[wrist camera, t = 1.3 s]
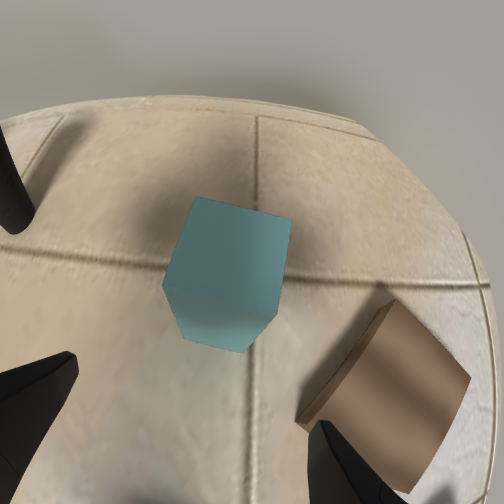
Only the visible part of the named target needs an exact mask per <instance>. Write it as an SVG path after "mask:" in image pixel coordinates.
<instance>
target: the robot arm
mask: <svg viewBox="0 0 504 504" xmlns="http://www.w3.org/2000/svg"><path fill="white" fill-rule="evenodd" d="M78 374H79V368H78V362H77V357H76V355H75V354H73V353H71V352H69V351H64V352H61V353H58V354H56V355H53V356H50V357H47V358H44V359H41V360H38V361H35V362H32V363H29V364H26V365H23V366H20V367H17V368H14V369H11V370H8V371H5V372H2V373H0V504H10V502H11V499H12V497H13V495H14V493H15V491H16V489H17V487H18V485H19V483H20V481H21V479H22V477H23V475H24V473H25V471H26V469H27V467H28V465H29V463H30V461H31V460H32V458H33V456H34V454H35V452H36V451H37V449H38V447H39V445H40V444H41V442H42V440H43V438H44V437H45V435H46V433H47V432H48V430H49V428H50V427H51V425H52V423H53V422H54V420H55V418H56V417H57V415H58V413H59V412H60V410H61V409H62V407H63V405H64V403H65V401H66V399H67V397H68V395H69V393H70V391H71V389H72V387H73V385H74V383H75V381H76V379H77V377H78ZM307 473H308V486H309V499H310V504H408V503H407V502H405V501H404V500H403V499H402V498H401V497H400V496H398V495H397V494H396V493H395V492H394V491H393V490H392V489H391V488H390V487H389V486H388V485H387V484H386V483H385V482H384V481H383V480H382V479H381V477H380V476H379V475H378V474H377V473H376V472H375V471H374V470H373V469H372V468H371V467H370V466H369V464H368V463H367V462H366V461H365V460H364V459H363V458H362V457H361V456H360V454H359V453H358V452H357V451H356V450H355V449H354V448H353V447H352V445H351V444H350V443H349V442H348V441H347V440H346V439H345V437H344V436H343V435H342V434H341V433H340V432H339V431H338V429H337V428H336V427H335V426H334V425H333V424H332V422H331V421H329V420H321V419H320V420H318V421H317V422H316V424H315V425H314V427H313V428H312V430H311V431H310V433H309V438H308V464H307Z"/></svg>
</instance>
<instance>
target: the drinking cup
mask: <svg viewBox="0 0 504 504" xmlns="http://www.w3.org/2000/svg"><path fill="white" fill-rule="evenodd" d="M33 216H34V206H33V204H32V202H31V200H30V198H29V195H28V193H27V191H26V189H25V187H24V185H23V183H22V181H21V178H20V176H19V174H18V172H17V169H16V167H15V164H14V162H13V159H12V157H11V154H10V152H9V149H8V147H7V144H6V141H5V138H4V135H3V132H2V129H1V126H0V225H1V226H2V227H3V228H4V229H5V230H6V231H7V232H8V233H10V234H12V235H15V234H18V233H20V232H22V231H23V230H24V229H26V228H27V226H28V225H29V224H30V222H31V221H32V219H33Z"/></svg>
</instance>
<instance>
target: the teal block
mask: <svg viewBox="0 0 504 504" xmlns="http://www.w3.org/2000/svg"><path fill="white" fill-rule="evenodd" d="M291 222H292V220H289V219H285V218H282V217H278V216H274V215H270V214H266V213H262V212H259V211H255V210H251V209H247V208H243V207H239V206H235V205H230V204H226V203H222V202H218V201H214V200H209V199H205V198H201V197H196V198H195V201H194V203H193V205H192V208H191V210H190V213H189V215H188V218H187V220H186V222H185V225H184V227H183V230H182V232H181V235H180V238H179V240H178V243H177V245H176V248H175V250H174V253H173V256H172V258H171V261H170V264H169V267H168V269H167V272H166V275H165V278H164V280H163V283H162V286H163V289H164V292H165V294H166V297H167V299H168V302H169V304H170V307H171V309H172V312H173V314H174V316H175V319H176V321H177V324H178V326H179V328H180V331H181V333H182V335H183V338H184V339H187V340H191V341H194V342H198V343H202V344H206V345H209V346H213V347H217V348H221V349H225V350H230V351H234V352H238V353H244V351H245V350H246V349H247V348H248V347H249V346H250V345H251V344H252V342H253V341H254V340H255V339H256V338H257V337H258V336H259V334H260V333H261V332H262V331H263V330H264V329H265V328H266V326H267V325H268V324H269V323H270V322H271V321H272V319H273V318H274V317H275V316H276V315H277V311H278V305H279V299H280V293H281V287H282V281H283V275H284V269H285V262H286V256H287V249H288V243H289V236H290V229H291Z"/></svg>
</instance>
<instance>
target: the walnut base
mask: <svg viewBox="0 0 504 504" xmlns="http://www.w3.org/2000/svg"><path fill="white" fill-rule="evenodd" d="M470 380H471V377H470V375H469V374H468V373H467V372H466V371H465V370H464V369H463V367H462V366H461V365H460V364H459V363H458V362H457V361H456V360H455V358H454V357H453V356H452V355H451V354H450V353H449V352H448V351H447V350H446V349H445V348H444V347H443V345H442V344H441V343H440V342H439V341H438V340H437V339H436V338H435V337H434V336H433V335H432V334H431V333H430V332H429V331H428V330H427V329H426V328H425V327H424V326H423V325H422V324H421V322H420V321H419V320H418V319H417V318H416V317H415V316H414V315H413V314H412V313H411V312H410V311H409V310H408V309H407V308H406V307H405V306H404V305H402V304H401V303H400V302H399V301H398V300H397V299H394V300H393V301H391V302H390V303H388V304H387V305H385V306H383V307H382V308H380V309H379V311H378V312H377V314H376V315H375V317H374V319H373V320H372V322H371V323H370V325H369V326H368V328H367V329H366V331H365V332H364V334H363V335H362V337H361V338H360V340H359V341H358V343H357V344H356V346H355V347H354V348H353V350H352V351H351V353H350V354H349V355H348V357H347V358H346V360H345V361H344V362H343V364H342V365H341V366H340V368H339V369H338V370H337V372H336V373H335V374H334V375H333V377H332V378H331V379H330V381H329V382H328V383H327V384H326V386H325V387H324V388H323V389H322V391H321V392H320V393H319V394H318V395H317V397H316V398H315V399H314V400H313V401H312V403H311V404H310V405H309V406H308V407H307V408H306V410H305V411H304V412H303V413H302V414H301V415H300V416H299V417H298V419H297V420H296V421H295V422H296V423H297V424H298V425H299V426H301V427H302V428H303V429H305V430H306V431H307V432H308V433H310V431H311V430H312V428H313V427H314V425H315V424H316V422H317V421H318V420H320V419H321V420H329V421H331V422H332V424H333V425H334V426H335V427H336V428H337V429H338V431H339V432H340V433H341V434H342V435H343V436H344V437H345V439H346V440H347V441H348V442H349V443H350V444H351V445H352V447H353V448H354V449H355V450H356V451H357V452H358V453H359V454H360V456H361V457H362V458H363V459H364V460H365V461H366V462H367V463H368V464H369V466H370V467H371V468H372V469H373V470H374V471H375V472H376V473H377V474H378V475H379V476H380V477H381V479H382V480H383V481H384V482H385V483H386V484H387V485H388V486H389V487H390V488H391V489H394V490H397V491H400V492H403V493H407V494H409V493H410V492H411V491H412V489H413V488H414V486H415V485H416V484H417V482H418V481H419V479H420V478H421V476H422V475H423V473H424V472H425V470H426V469H427V467H428V466H429V464H430V462H431V461H432V459H433V457H434V456H435V454H436V452H437V451H438V449H439V447H440V445H441V444H442V442H443V440H444V438H445V436H446V434H447V432H448V430H449V428H450V426H451V424H452V422H453V420H454V418H455V416H456V414H457V412H458V409H459V407H460V405H461V403H462V400H463V398H464V395H465V393H466V390H467V388H468V385H469V383H470Z"/></svg>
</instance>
